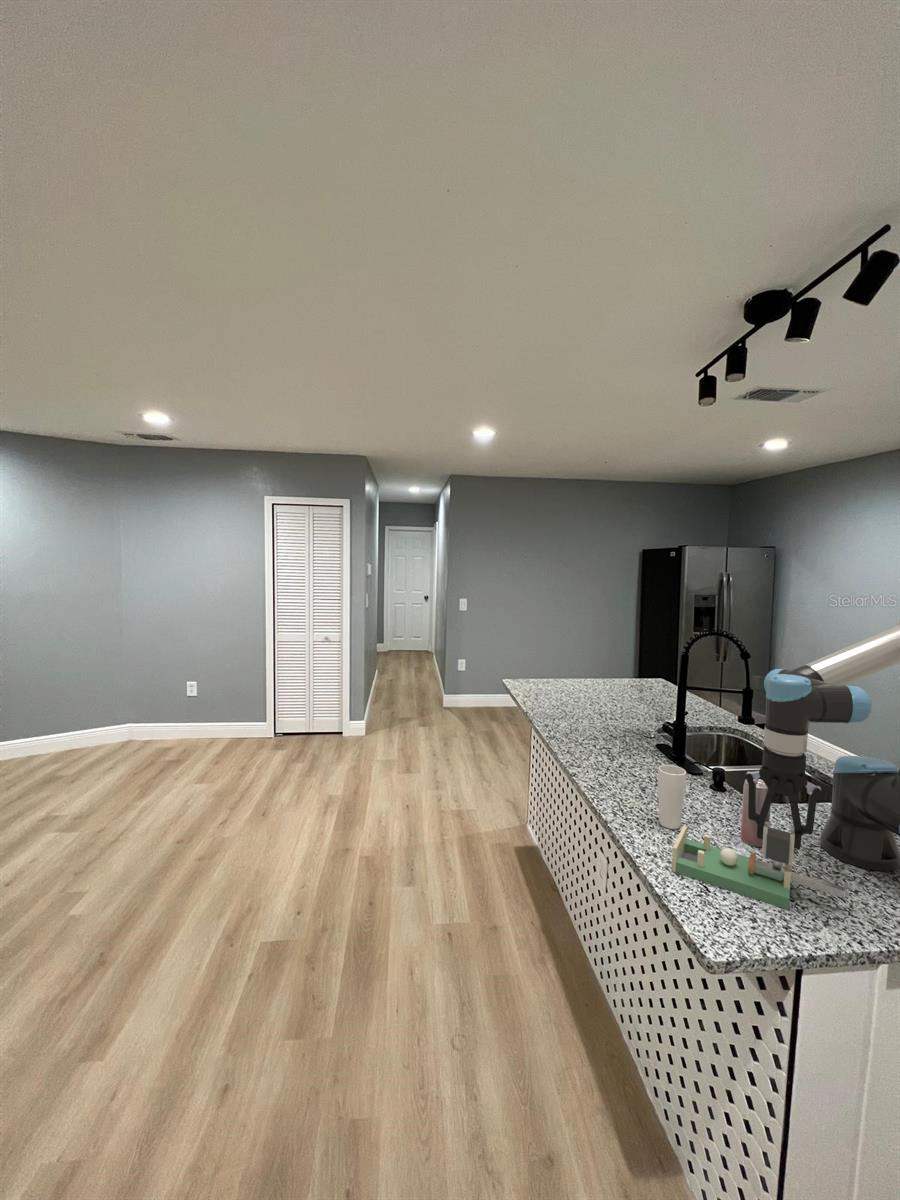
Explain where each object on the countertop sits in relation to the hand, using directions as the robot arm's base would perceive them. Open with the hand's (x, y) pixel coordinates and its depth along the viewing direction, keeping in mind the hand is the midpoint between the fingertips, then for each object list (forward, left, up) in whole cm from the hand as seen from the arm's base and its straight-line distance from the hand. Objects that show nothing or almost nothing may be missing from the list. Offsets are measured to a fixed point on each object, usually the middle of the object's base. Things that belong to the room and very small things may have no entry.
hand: (777, 857), depth 110 cm
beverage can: (+5, -20, -7) cm, 22 cm away
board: (+9, 0, -7) cm, 11 cm away
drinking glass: (+24, -16, -7) cm, 30 cm away
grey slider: (-3, 0, -4) cm, 5 cm away
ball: (+9, 0, -3) cm, 9 cm away
